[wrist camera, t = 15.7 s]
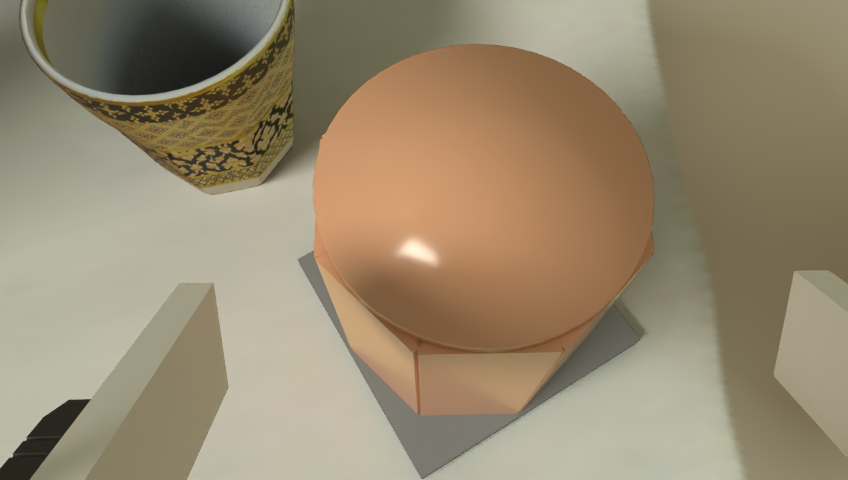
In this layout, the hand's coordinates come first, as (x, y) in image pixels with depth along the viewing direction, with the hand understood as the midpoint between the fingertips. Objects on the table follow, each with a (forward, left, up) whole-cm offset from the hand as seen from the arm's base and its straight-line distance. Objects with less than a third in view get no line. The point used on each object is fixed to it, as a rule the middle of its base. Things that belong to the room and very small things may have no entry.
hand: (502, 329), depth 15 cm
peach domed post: (-5, +3, -13) cm, 15 cm away
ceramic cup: (-20, -2, -14) cm, 24 cm away
